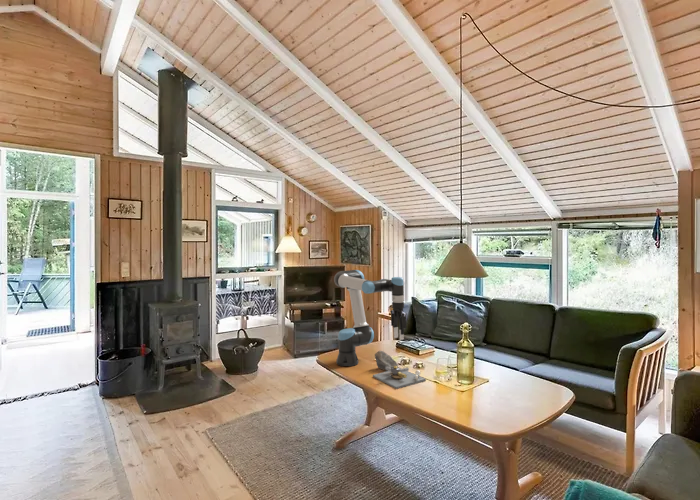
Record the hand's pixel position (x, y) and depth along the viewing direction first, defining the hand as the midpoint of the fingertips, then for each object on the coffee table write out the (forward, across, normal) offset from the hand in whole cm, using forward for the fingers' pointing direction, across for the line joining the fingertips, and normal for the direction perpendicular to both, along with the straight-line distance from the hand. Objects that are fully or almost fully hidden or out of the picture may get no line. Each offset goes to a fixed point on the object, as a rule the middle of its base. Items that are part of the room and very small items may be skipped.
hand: (398, 338), depth 245 cm
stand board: (+23, +6, -6) cm, 24 cm away
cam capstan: (+21, +5, -7) cm, 23 cm away
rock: (+23, -12, -1) cm, 26 cm away
